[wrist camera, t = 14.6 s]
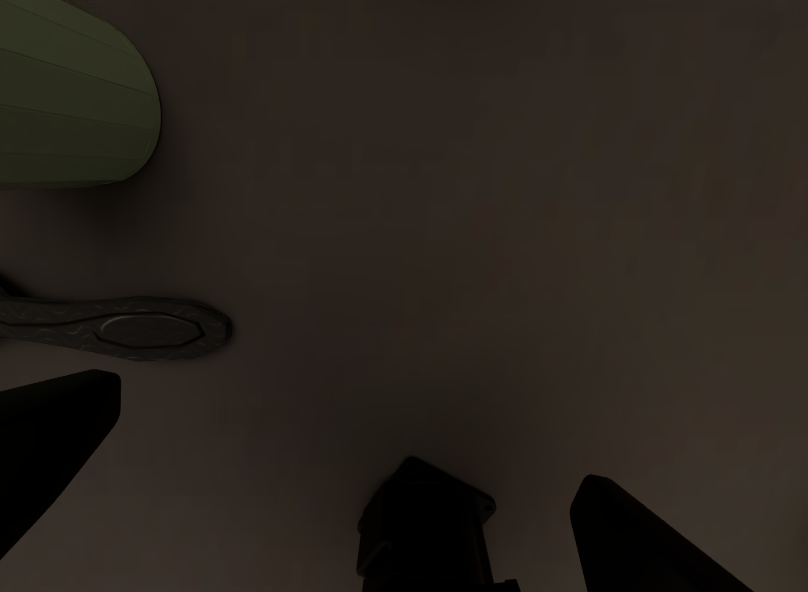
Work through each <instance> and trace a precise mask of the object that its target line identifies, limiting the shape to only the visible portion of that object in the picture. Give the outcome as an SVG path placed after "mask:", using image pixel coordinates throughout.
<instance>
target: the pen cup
mask: <svg viewBox="0 0 808 592" xmlns="http://www.w3.org/2000/svg"><path fill="white" fill-rule="evenodd" d="M160 127H161V109H160V101H159V96H158V91H157V88H156V85H155V82H154V79H153V77H152V75H151V72H150V70H149V68H148V66H147V65H146V63H145V61H144V59H143V58H142V56H141V55H140V53H139V52H138V51H137V49H136V48H135V46H134V45H133V44H132V43H131V42H130V41H129V40H128V39H127V37H126V36H125V35H124V34H122V33H121V32H120V31H119V30H118V29H117V28H116V27H115V26H113V25H112V24H110V23H109V22H108V21H106V20H105V19H103V18H101V17H99V16H98V15H96V14H94V13H92V12H90V11H88V10H87V9H85V8H84V7H82V6H81V5H79V4H77V3H75V2H73V1H71V0H0V191H6V190H29V189H51V188H74V187H93V186H97V185H106V184H112V183H116V182H119V181H122V180H125V179H126V178H128V177H130V176H132V175H133V174H135V173H136V172H137V171H139V170H140V169H141V168H142V167H143V166H144V165H145V164H146V162H147V161H148V160H149V158H150V157H151V155H152V153H153V151H154V149H155V147H156V144H157V141H158V138H159V133H160Z"/></svg>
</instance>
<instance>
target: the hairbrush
mask: <svg viewBox="0 0 808 592" xmlns="http://www.w3.org/2000/svg"><path fill="white" fill-rule="evenodd" d="M110 313H118V314H112V315H106V316H100V315H105V314H110ZM94 316H100V317H95V318H89V317H94ZM84 318H89V319H84ZM78 319H83V320H78ZM73 320H77V321H73ZM68 321H72V322H68ZM203 332H204V333H205V334H204V335H202V336H200V337H198V338H196V339H194V340H192V341H190V342H187V341H189V340H191V339H193V338H195V337H197V336H199V335H201V334H202V333H203ZM0 336H3V337H9V338H15V339H21V340H27V341H33V342H39V343H45V344H51V345H57V346H64V347H70V348H75V349H80V350H85V351H90V352H95V353H99V354H104V355H109V356H114V357H119V358H124V359H128V360H133V361H156V360H177V359H194V358H196V357H198V356H200V355H202V354H204V353H206V352H208V351H210V350H211V349H213V348H215V347H217V346H219V345H221V344H223V343H225V342H226V341H227V340H228V339H229V338H230V337H231V336H232V335H231V325H230V318H228V317H226V316H224V315H223V314H221V313H219V312H217V311H216V310H214V309H212V308H210V307H208V306H206V305H204V304H202V303H201V302H199V301H194V300H183V299H172V298H161V297H150V296H137V297H126V298H116V299H105V300H94V301H84V302H75V301H63V300H50V299H38V298H25V297H13V296H9V295H8V294H7V293H6V292H5V291H4V290H3V289H2V288H1V287H0Z"/></svg>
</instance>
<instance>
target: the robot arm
mask: <svg viewBox="0 0 808 592" xmlns="http://www.w3.org/2000/svg"><path fill="white" fill-rule="evenodd" d="M120 410H121V379H120V376H119V375H118V374H116V373H112V372H108V371H103V370H98V369H91V370H87V371H83V372H79V373H75V374H70V375H66V376H62V377H58V378H54V379H50V380H46V381H42V382H37V383H33V384H29V385H25V386H21V387H17V388H13V389H8V390H4V391H0V560H1V559H2V558H3V557H4V556H5V555H6V553H7V552H8V551H9V550H10V549H11V548H12V547H13V546H14V545H15V544H16V543H17V542H18V541H19V540H20V539H21V537H22V536H23V535H24V534H25V533H26V532H27V531H28V530H29V529H30V528H31V527H32V526H33V525H34V524H35V523H36V522H37V520H38V519H39V518H40V517H41V516H42V515H43V514H44V513H45V512H46V511H47V509H48V508H49V507H50V506H51V505H52V504H53V503H54V502H55V500H56V499H57V498H58V497H59V496H60V494H61V493H62V492H63V491H64V489H65V488H66V487H67V486H68V484H69V483H70V482H71V481H72V479H73V478H74V477H75V476H76V474H77V473H78V472H79V470H80V469H81V468H82V467H83V465H84V464H85V463H86V462H87V460H88V459H89V458H90V456H91V455H92V454H93V453H94V451H95V450H96V449H97V448H98V446H99V445H100V444H101V442H102V441H103V440H104V439H105V437H106V436H107V435H108V434H109V432H110V431H111V430H112V428H113V427H114V426H115V424H116V423H117V421H118V418H119V416H120ZM412 465H413V466H415V467H413V468H411V467H409V466H412ZM486 505H489V506H486ZM495 511H496V504H495V501H494V499H493V498H492V497H490V496H488V495H486V494H484V493H482V492H480V491H478V490H476V489H474V488H472V487H471V486H469V485H467V484H465V483H463V482H461V481H459V480H457V479H455V478H453V477H451V476H449V475H448V474H446V473H444V472H442V471H440V470H438V469H436V468H434V467H432V466H430V465H428V464H426V463H425V462H423V461H421V460H419V459H417V458H414V457H410V458H407V459H406V460H405V461H404V462H403V464H402V465H401V466H400V468H399V469H398V470H397V472H396V473H395V474H394V476H393V477H392V478H391V480H390V481H387V482H385V483H384V484H383V485H382V486H381V487H380V489H379V490H378V491H377V493H376V494H375V495H374V497H373V498H372V499H371V501H370V502H369V503H368V505H367V506H366V507H365V509H364V513H363V516H362V518H361V519H360V520H359V522H358V528H357V530H358V532H359V533H360V534H361V536H360V544H359V552H358V560H357V568H356V571H357V575H358V576H359V577H361V578H363V589H362V592H521V591H520V589H519V586H518V583H517V580H516V579H509V580H505V582H502V583H494V581H493V576H492V572H491V567H490V562H489V557H488V553H487V548H486V543H485V539H484V534H483V529H482V526H483V524H484V523H485V522H486V521H487V520H488V519H489V518H490V517H491V515H492V514H493V513H494V512H495ZM570 519H571V524H572V528H573V532H574V536H575V541H576V545H577V549H578V553H579V557H580V562H581V566H582V570H583V574H584V578H585V583H586V587H587V591H588V592H753V591H752V590H751V589H750V588H748V587H747V586H746V585H745V584H743V583H742V582H741V581H740V580H738V579H737V578H736V577H734V576H733V575H732V574H731V573H729V572H728V571H727V570H726V569H724V568H723V567H722V566H720V565H719V564H718V563H717V562H715V561H714V560H713V559H712V558H710V557H709V556H708V555H707V554H705V553H704V552H703V551H701V550H700V549H699V548H698V547H696V546H695V545H694V544H693V543H691V542H690V541H689V540H687V539H686V538H685V537H684V536H682V535H681V534H680V533H679V532H677V531H676V530H675V529H674V528H672V527H671V526H670V525H668V524H667V523H666V522H665V521H663V520H662V519H661V518H660V517H658V516H657V515H656V514H654V513H653V512H652V511H651V510H649V509H648V508H647V507H646V506H644V505H643V504H642V503H641V502H639V501H638V500H637V499H635V498H634V497H633V496H632V495H630V494H629V493H628V492H627V491H625V490H624V489H623V488H621V487H620V486H619V485H618V484H616V483H615V482H614V481H613V480H611V479H609V478H607V477H602V476H597V475H592V474H590V475H587V476H586V477H585V478H584V479H583V481H582V483H581V485H580V487H579V489H578V491H577V493H576V496H575V498H574V500H573V502H572V504H571V507H570Z"/></svg>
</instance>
